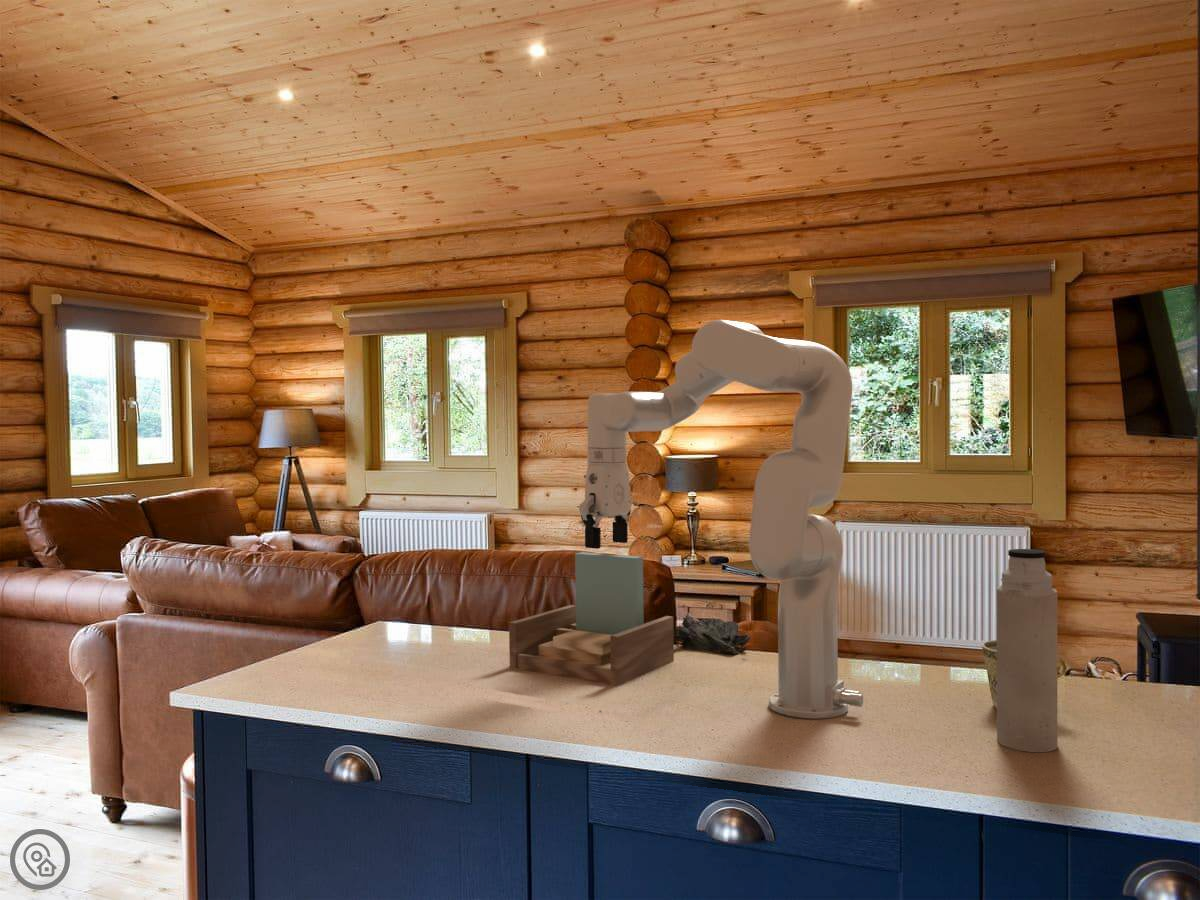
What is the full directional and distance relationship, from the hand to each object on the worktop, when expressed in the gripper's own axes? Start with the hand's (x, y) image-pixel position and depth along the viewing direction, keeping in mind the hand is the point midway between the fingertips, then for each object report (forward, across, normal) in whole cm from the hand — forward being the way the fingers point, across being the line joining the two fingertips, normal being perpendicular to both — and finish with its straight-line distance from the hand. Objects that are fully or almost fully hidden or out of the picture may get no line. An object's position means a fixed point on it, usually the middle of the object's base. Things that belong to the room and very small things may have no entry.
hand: (606, 545), depth 184 cm
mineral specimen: (+24, +18, -14) cm, 33 cm away
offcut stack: (+22, -9, -1) cm, 24 cm away
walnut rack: (+23, -6, -1) cm, 24 cm away
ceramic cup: (+22, +10, -74) cm, 78 cm away
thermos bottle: (+22, -7, -77) cm, 80 cm away
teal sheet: (+22, 0, -1) cm, 22 cm away
